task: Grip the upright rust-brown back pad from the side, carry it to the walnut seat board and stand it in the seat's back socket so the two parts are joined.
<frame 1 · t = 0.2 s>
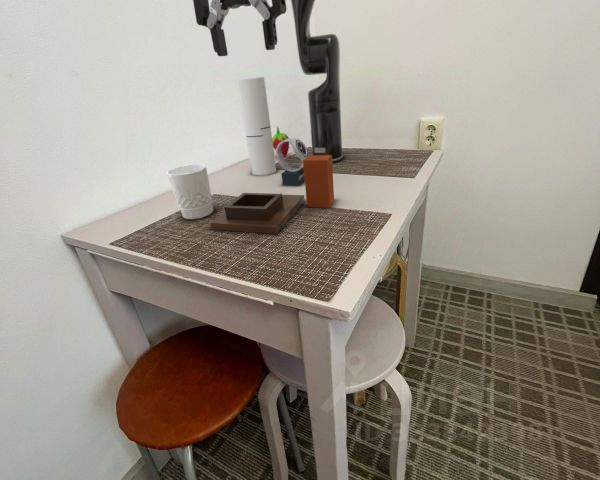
hand: (245, 53, 52), 29 cm above the table, tool pointing down, fingers open, 8 cm apart
back pad: (320, 203, 71), on the table
strawberry: (282, 157, 112), on the table
seat board: (261, 214, 68), on the table
watch: (295, 182, 86), on the table
white cup: (198, 214, 73), on the table
cylindrical container: (264, 172, 97), on the table
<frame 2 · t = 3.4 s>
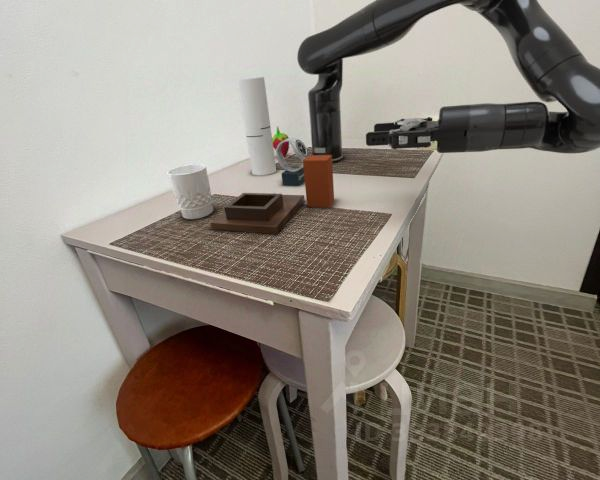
hand: (370, 134, 60), 14 cm above the table, tool horizontal, fingers open, 8 cm apart
nothing on the table moved.
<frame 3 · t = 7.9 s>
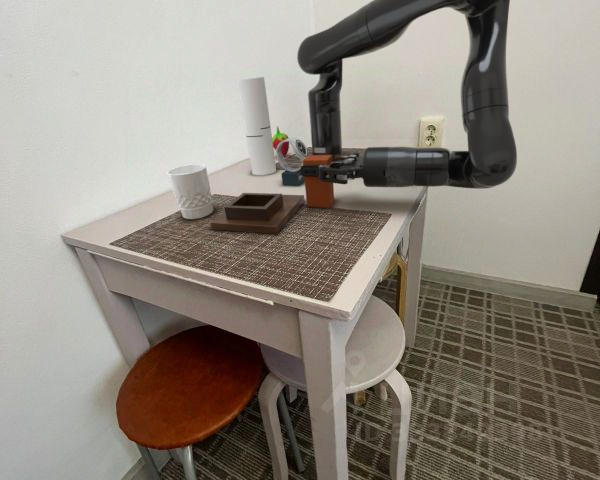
hand: (305, 167, 68), 8 cm above the table, tool horizontal, fingers closed on back pad, 4 cm apart
back pad: (320, 203, 71), on the table, touching gripper
everything else where it was.
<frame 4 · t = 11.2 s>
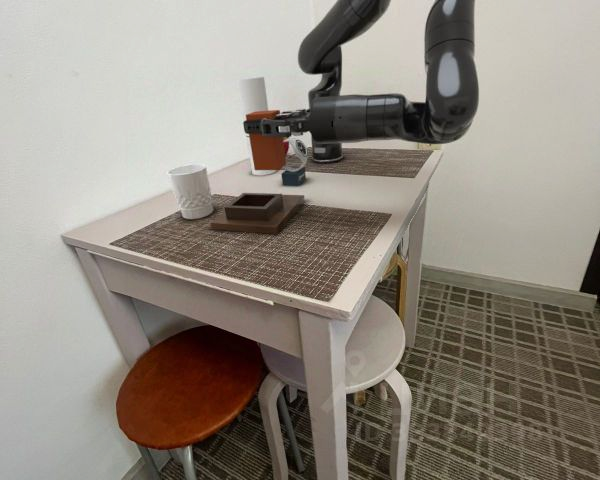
hand: (250, 124, 60), 18 cm above the table, tool horizontal, fingers closed on back pad, 4 cm apart
back pad: (270, 167, 63), point 10 cm above the table, touching gripper
everything else where it was.
when the fingers open (10 cm above the table, at t = 14.4 s): back pad stays where it is, resting on seat board.
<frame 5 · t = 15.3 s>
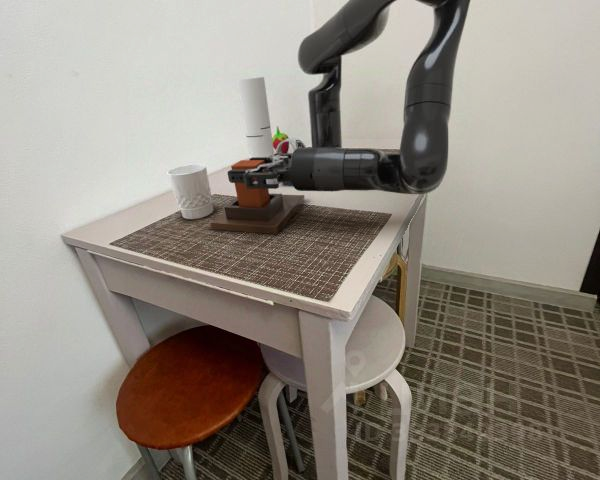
hand: (240, 169, 63), 10 cm above the table, tool horizontal, fingers open, 8 cm apart
back pad: (256, 211, 66), point 1 cm above the table, touching seat board
everything else where it was.
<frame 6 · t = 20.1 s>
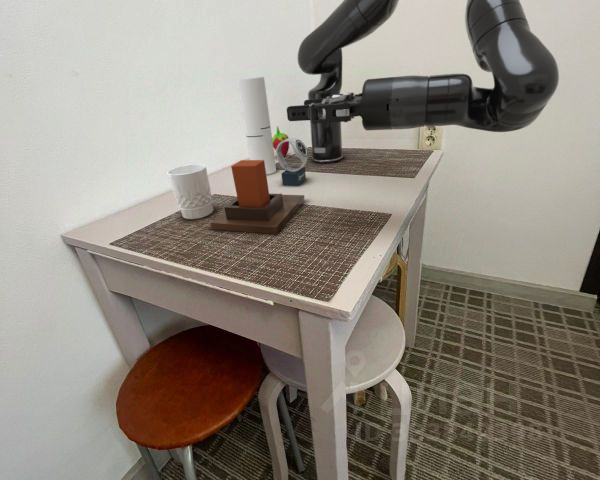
hand: (296, 110, 56), 20 cm above the table, tool horizontal, fingers open, 8 cm apart
nothing on the table moved.
at the end: back pad 0.1 cm from the target spot on the seat board, point 1.5 cm above the seat board's base; back pad tilted 0°; the gripper is holding nothing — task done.
